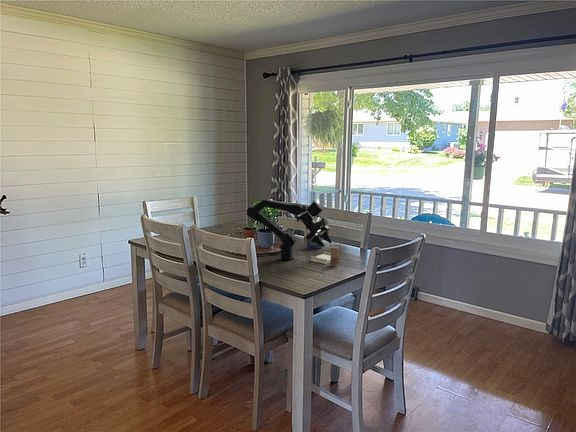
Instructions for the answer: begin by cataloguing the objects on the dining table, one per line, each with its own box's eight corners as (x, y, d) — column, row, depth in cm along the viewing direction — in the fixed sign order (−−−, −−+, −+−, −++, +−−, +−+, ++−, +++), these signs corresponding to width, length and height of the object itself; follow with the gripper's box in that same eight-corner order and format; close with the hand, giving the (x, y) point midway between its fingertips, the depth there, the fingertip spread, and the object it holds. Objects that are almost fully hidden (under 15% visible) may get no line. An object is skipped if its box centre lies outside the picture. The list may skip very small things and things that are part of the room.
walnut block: (337, 266, 228) (337, 248, 226) (330, 265, 230) (330, 247, 228) (340, 264, 231) (340, 246, 229) (333, 263, 233) (333, 245, 231)
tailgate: (325, 264, 232) (325, 259, 232) (309, 260, 239) (309, 256, 238) (338, 258, 242) (338, 254, 242) (322, 255, 249) (322, 251, 248)
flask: (322, 247, 266) (322, 230, 264) (322, 249, 263) (322, 232, 261) (307, 247, 267) (307, 230, 265) (307, 249, 264) (307, 231, 262)
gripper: (311, 215, 222) (331, 239, 219) (326, 210, 238) (344, 232, 235) (297, 229, 227) (316, 252, 224) (313, 223, 243) (330, 244, 240)
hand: (327, 244), depth 231 cm, fingers open, 9 cm apart
